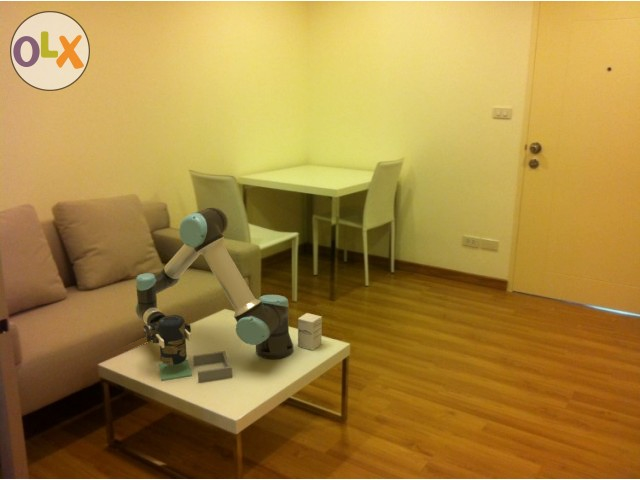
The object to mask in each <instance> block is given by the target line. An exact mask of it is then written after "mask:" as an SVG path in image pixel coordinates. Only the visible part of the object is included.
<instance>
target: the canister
mask: <svg viewBox="0 0 640 480" xmlns="http://www.w3.org/2000/svg"><path fill="white" fill-rule="evenodd" d="M185 323H186V322H185V319H184V317H183V316H181V315H179V314H173V315H172V314H171V315H165V317H163V318H161V319H160V320H159V322H158V328H159V334H158V335H159V336H160V337H161V338H162V339H163V340H164V348H162V347H161V346H160V345H159V353H160V361H161V363H164V364H166V365H177V364H180V363H182V362H184V361H185V360H186V359H187V355H188V353H187V342H186V341H187V339H186V335H185Z"/></svg>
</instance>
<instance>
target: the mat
mask: <svg viewBox="0 0 640 480" xmlns="http://www.w3.org/2000/svg"><path fill="white" fill-rule="evenodd" d="M158 368H159V374H160V379H161V382H164V381H168V380H169V381H170V380H171V381H172V380H176V379H177V380H178V379H181V378H189V377H190V378H191V377H193V373H192V368H191V365H190V361H189V358H186V360H185V361H184V362H182V363H180V364H177V365H166V364H164V363H162V362H159V363H158Z"/></svg>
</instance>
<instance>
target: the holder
mask: <svg viewBox="0 0 640 480" xmlns="http://www.w3.org/2000/svg"><path fill="white" fill-rule="evenodd" d="M218 363H222V364H223V366H224V367H223V366H221V367H217V368H210V369H204V370H197V382H198V384H201V383H205V382H212V381H218V380H226V379H232V378H233V368H232V365H231V362H230V360H229V358H228V355H227V353H226V351H225V350H221V351H214V352H206V353H201V354H194V355H192V364H193V367H198V366H199V367H200V366H205V365H212V364H218Z"/></svg>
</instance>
